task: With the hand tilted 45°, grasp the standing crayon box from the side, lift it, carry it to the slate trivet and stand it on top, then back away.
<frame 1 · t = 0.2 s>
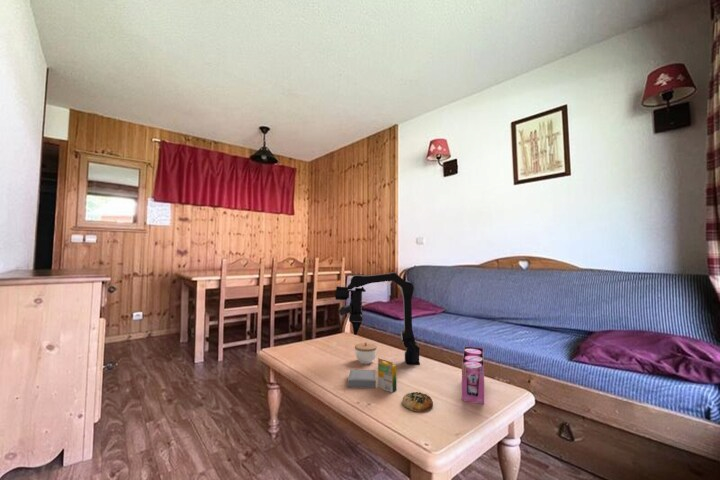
hand: (355, 332, 152), 14 cm above the table, tool pointing down, fingers open, 9 cm apart
gum box: (473, 390, 121), on the table
bread roll: (417, 406, 109), on the table
slate trivet: (362, 382, 128), on the table
crayon box: (387, 389, 122), on the table
lidded jar: (365, 362, 152), on the table
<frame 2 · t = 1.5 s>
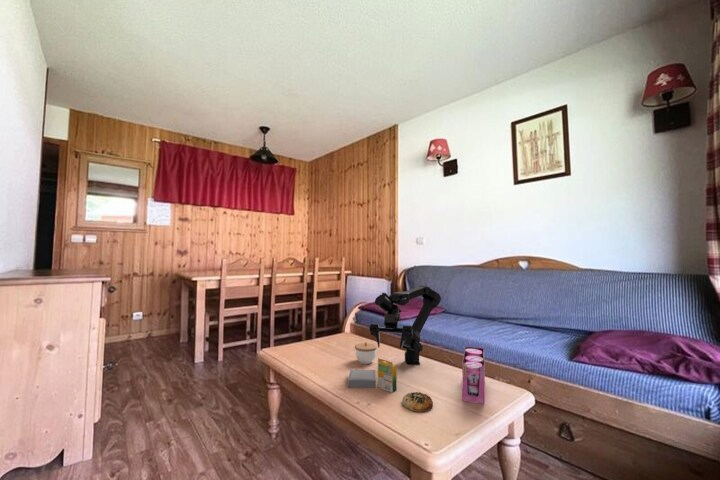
hand: (389, 348, 130), 13 cm above the table, tool tilted 45°, fingers open, 9 cm apart
nothing on the table moved.
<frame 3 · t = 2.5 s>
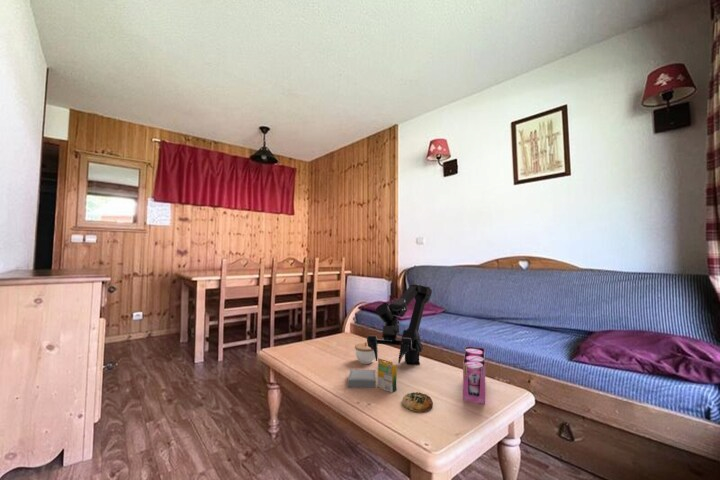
hand: (387, 361, 125), 10 cm above the table, tool tilted 45°, fingers open, 9 cm apart
nothing on the table moved.
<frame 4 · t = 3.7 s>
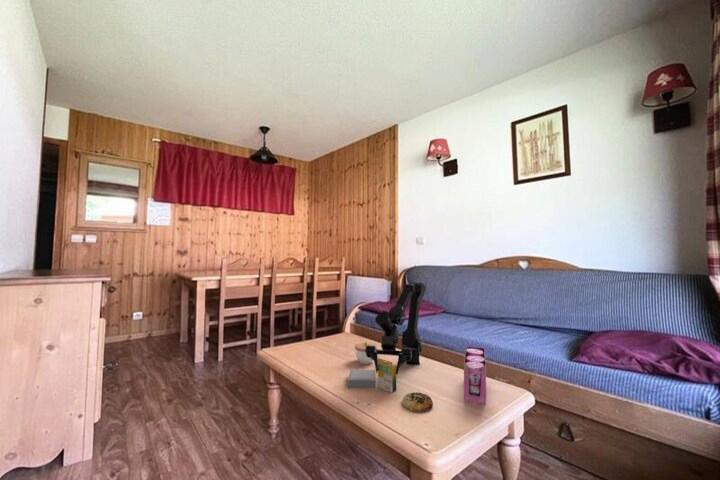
hand: (386, 373, 121), 7 cm above the table, tool tilted 45°, fingers closed on crayon box, 7 cm apart
crayon box: (387, 389, 122), on the table, touching gripper
everything else where it was.
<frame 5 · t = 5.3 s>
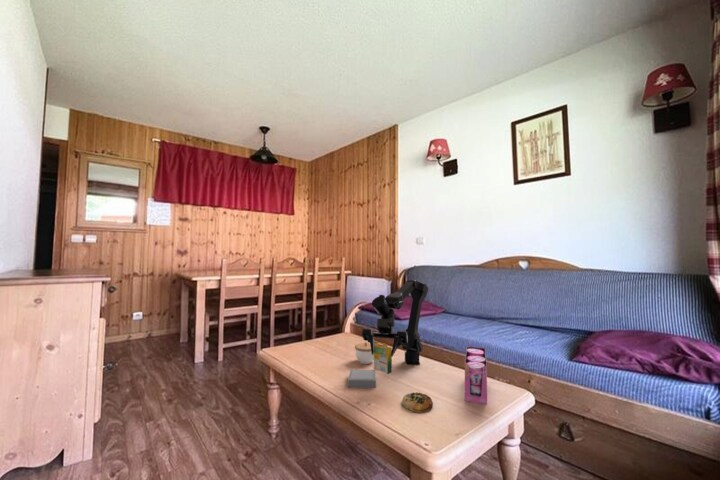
hand: (381, 355, 122), 13 cm above the table, tool tilted 45°, fingers closed on crayon box, 7 cm apart
crayon box: (382, 371, 123), point 6 cm above the table, touching gripper
everything else where it was.
when the fingers open (10 cm above the table, at t = 6.9 s): crayon box stays where it is, resting on slate trivet.
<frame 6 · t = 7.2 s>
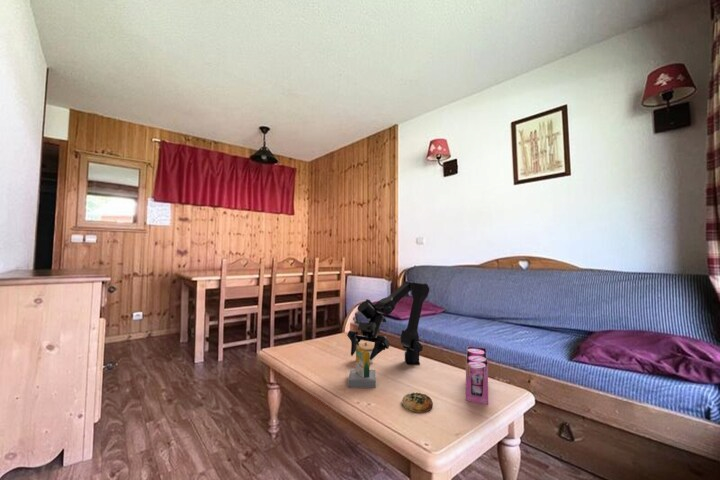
hand: (360, 357, 127), 11 cm above the table, tool tilted 45°, fingers open, 9 cm apart
crayon box: (362, 374, 128), point 3 cm above the table, touching slate trivet
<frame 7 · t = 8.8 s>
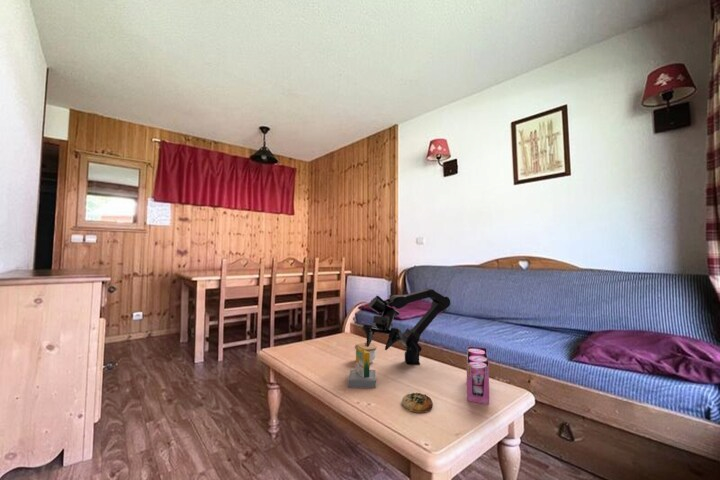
hand: (376, 348, 137), 11 cm above the table, tool tilted 45°, fingers open, 9 cm apart
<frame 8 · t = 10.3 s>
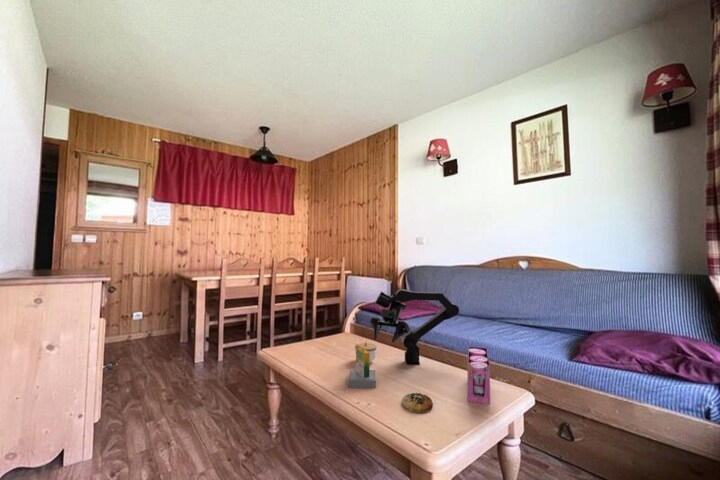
hand: (383, 340, 141), 14 cm above the table, tool tilted 45°, fingers open, 9 cm apart
at the end: crayon box inside the target area on the slate trivet (0.2 cm from its centre), point 3.0 cm above the slate trivet's base; crayon box tilted 0°; crayon box touching slate trivet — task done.
